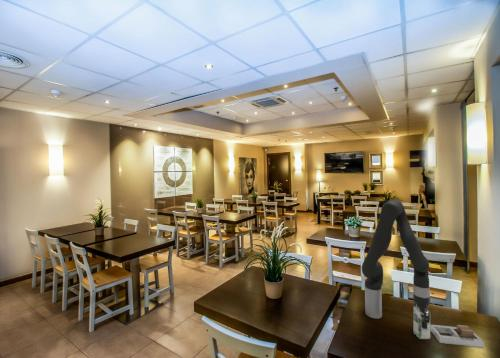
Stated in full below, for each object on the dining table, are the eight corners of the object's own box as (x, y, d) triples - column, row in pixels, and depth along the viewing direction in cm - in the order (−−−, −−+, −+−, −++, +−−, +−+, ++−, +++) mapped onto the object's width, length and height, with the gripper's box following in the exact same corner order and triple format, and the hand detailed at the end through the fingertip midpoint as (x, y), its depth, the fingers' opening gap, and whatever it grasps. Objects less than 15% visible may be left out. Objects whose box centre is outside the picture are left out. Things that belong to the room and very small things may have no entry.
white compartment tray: (429, 329, 140) (429, 324, 140) (469, 333, 136) (469, 328, 136) (439, 342, 130) (439, 337, 130) (483, 347, 125) (483, 341, 125)
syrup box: (412, 332, 138) (412, 306, 138) (423, 332, 138) (423, 306, 138) (419, 339, 133) (419, 312, 132) (431, 339, 133) (430, 312, 132)
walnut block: (456, 335, 135) (456, 324, 135) (467, 337, 134) (467, 325, 134) (462, 342, 130) (462, 330, 130) (473, 343, 129) (473, 331, 129)
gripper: (408, 287, 143) (408, 316, 143) (419, 299, 129) (419, 332, 129) (423, 288, 141) (423, 317, 142) (435, 301, 127) (436, 333, 128)
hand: (421, 324), depth 135 cm, fingers closed on syrup box, 6 cm apart
